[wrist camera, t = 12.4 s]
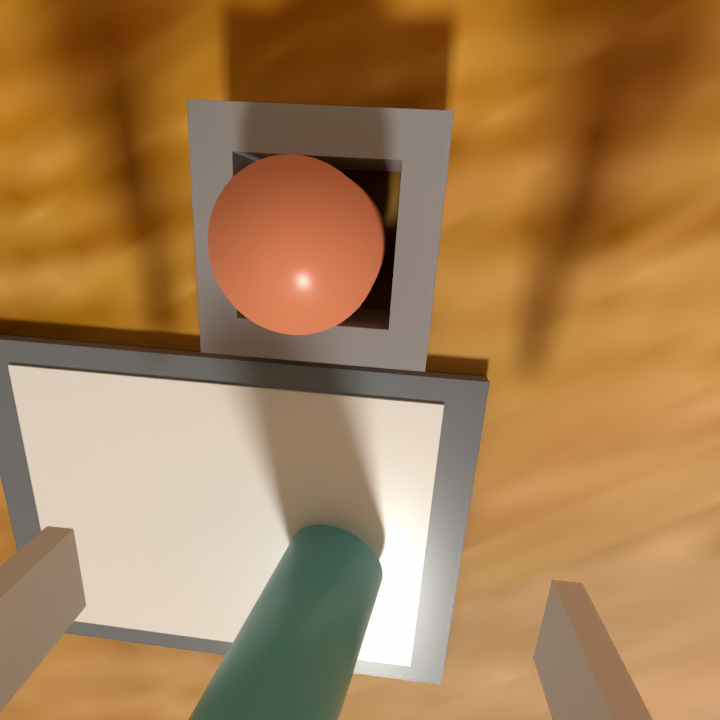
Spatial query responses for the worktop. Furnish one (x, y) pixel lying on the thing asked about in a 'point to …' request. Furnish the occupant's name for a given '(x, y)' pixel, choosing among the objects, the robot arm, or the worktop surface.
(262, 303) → the button
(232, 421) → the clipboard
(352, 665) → the marker
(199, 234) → the button housing
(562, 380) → the worktop surface
